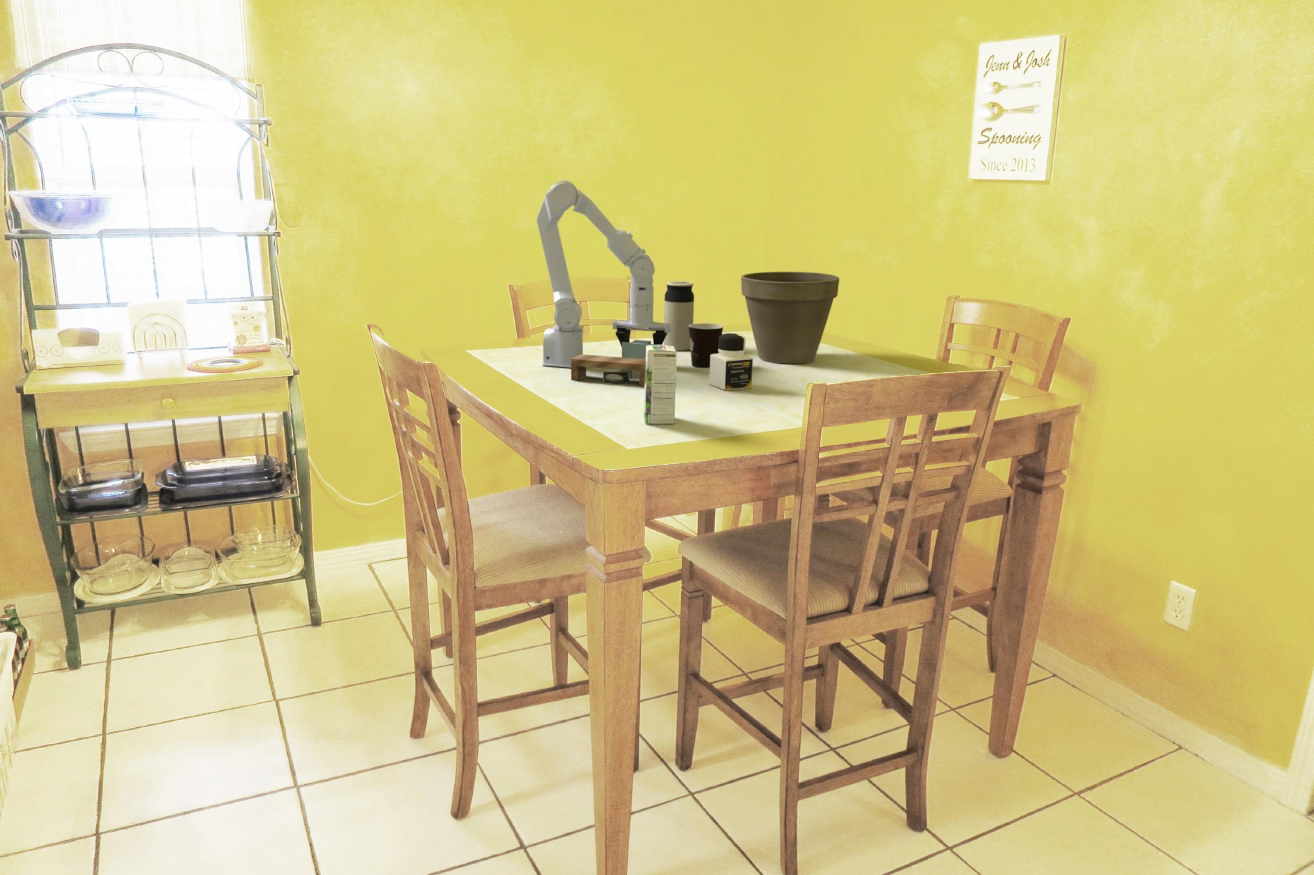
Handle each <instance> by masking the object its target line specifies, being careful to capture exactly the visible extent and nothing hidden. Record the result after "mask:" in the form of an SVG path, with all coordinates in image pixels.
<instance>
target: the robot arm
mask: <svg viewBox="0 0 1314 875" xmlns="http://www.w3.org/2000/svg"><path fill="white" fill-rule="evenodd" d="M572 206H574V207H573V208H572V211H573V212H576V213H579V214H582V215H584V216H585V217H586V218H587V219H588V220H589V221H590V222H591V223H592V224H593V226H594V227H595V228H596V229H597V230H598V231H599V232H601V234H602V235H603V236H604V237H605V238H606V239H607V243H606V246H607V249H609V251H611V253H613V254H612V255H614V256H615V257H616V258H617V259H618V260H619V261H620V262H621V263H622V265H623V266H625V267H628V268H629V273H630V275H631V285H630V287H629V302H630V303H629V320H612V330H616V331H615V336H616V337H617V340H618V341H619V344H620V346H621V348H622V342H630V341H631V331H642V332H643V331H644V332H645V331H646V332H653V333H652V341H653V343H652V344H654V345H664V339H665V337H666V335H667V333H669V332H671V324H667V323H664V322H659V321H658V322H657V321H654V288H655V287H654V285H653V284H654V277H653V276H654V275H655V271H656V268H655V265H654V262H653V260H652V259H651V258H650V256H649V255H648V254H646V253H647V251H646V249H645V248H641V246H639V245H638V244H637V242H636V241H635V240H634V239H633V237H634V236H633V234H632V233H631V232H628V233H627V231H626V230H624V229H617V228H616V227H615V226H614V225H613V224H612V223H611V221H609V219H608V218H607V217H606V215H605V214H604V213H603V212H602V211H601V210H600V209H599V207H598V206H597V205H596V204H595V203H594V202H593V200H592V199H591V198H590V197H589V196H588V195H587V194H585V193H584V192H582V191H581V190H580V189H578V188H577V187H576V185H575V184H573V182H571V181H569V180H561V181H556V182H555V183H554V184H552V186H551V187H550V188H549V189H548V191H547V192H545V195H544V198H543V200H542V204H541V205H540V209H539V211H538V214H537V218H536V222H537V223H536V224H537V227H538V232H539V236H540V240H541V246H542V250H543V254H544V257H545V262H546V267H547V271H548V275H549V279H550V284H551V288H552V293H553V302H554V306H555V311H554V316H553V319H554V323H555V325H553V327H551V328H549V327H548V328H546V329H545V331H544V333H543V336H542V337H543V338H542V354H543V355H542V359H543V360H542V361H543V362H542V364H541V365H542V366H547V367H559V368H570V369H571V359H572V358H574V357H576V356H578V355H580V354H584V347H583V345H584V340H583V339H584V338H583V337H584V332H583V331H584V327H583V326H581V324H580V322H581V316H582V308H581V306H580V304H579V303H578V301H576V298H575V294H574V290H573V288H572V283H571V279H570V275H569V270H568V266H567V260H566V256H565V252H564V249H563V243H562V238H561V235H560V230H559V226H558V223H559V221H560V220H561V218H562V217H563V215H564V214H565V212H566V211H568V210H569V209H570V208H571V207H572Z"/></svg>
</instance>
